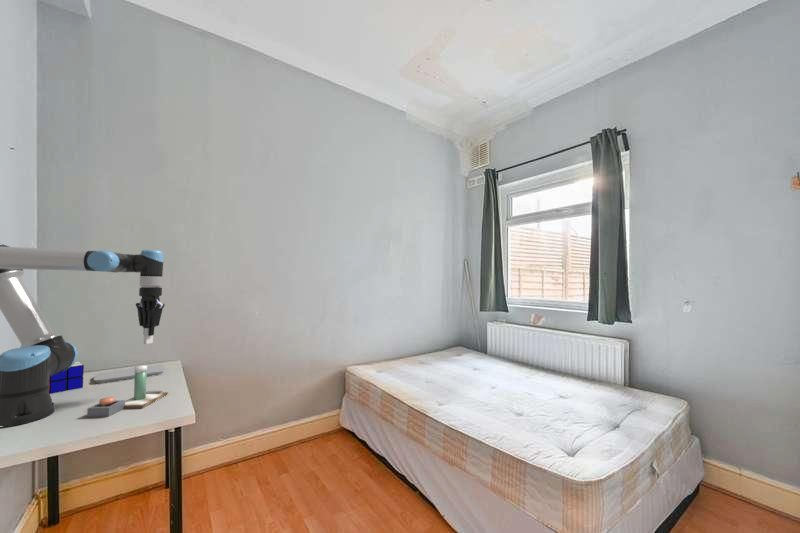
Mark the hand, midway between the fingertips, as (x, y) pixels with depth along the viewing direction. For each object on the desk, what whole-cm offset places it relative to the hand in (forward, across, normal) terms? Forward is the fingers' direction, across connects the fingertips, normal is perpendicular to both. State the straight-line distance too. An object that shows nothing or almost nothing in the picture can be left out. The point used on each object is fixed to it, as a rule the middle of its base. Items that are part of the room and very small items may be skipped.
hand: (148, 343), depth 133 cm
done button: (+17, -6, +18) cm, 26 cm away
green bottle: (+19, -7, +7) cm, 22 cm away
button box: (+21, -6, +18) cm, 28 cm away
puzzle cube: (+21, +41, +4) cm, 46 cm away
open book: (+21, -8, +7) cm, 23 cm away
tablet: (+22, +33, -18) cm, 43 cm away
